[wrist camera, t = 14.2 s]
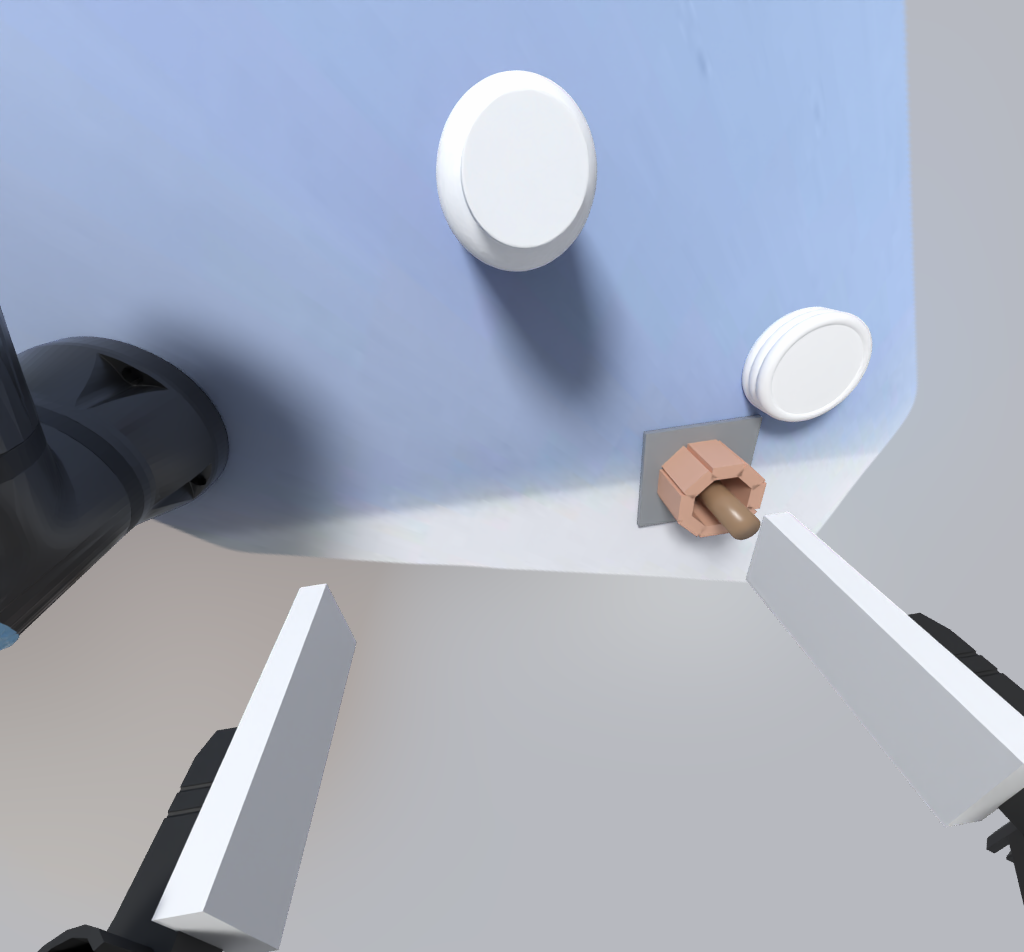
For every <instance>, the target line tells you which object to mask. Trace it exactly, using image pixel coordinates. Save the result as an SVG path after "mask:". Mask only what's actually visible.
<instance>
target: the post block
mask: <svg viewBox="0 0 1024 952" xmlns="http://www.w3.org/2000/svg"><path fill="white" fill-rule="evenodd" d="M761 421H762V417H761V416H760V415H754V416H747V417H740V418H734V419H727V420H720V421H713V422H706V423H700V424H693V425H686V426H679V427H673V428H666V429H659V430H652V431H646V432H644V435H643V449H642V462H641V476H640V489H639V503H638V517H637V525H638V526H639V527H642V526H649V525H655V524H661V523H668V522H674V521H677V520H676V519H675V518H674V516H673V515H672V514H671V512H670V511H669V509H668V508H667V507H666V505H665V504H664V503H663V501H662V500H661V498H660V497H659V496H658V493H657V489H658V480H659V470H661V469H663V467H662V465H663V464H664V463H665V462H667V461H668V460H669V459H670V458H671V457H672V456H673V455H674V454H675V453H676V452H677V451H678V450H679V449H680V448H682V447H683V446H685V447H686V448H687V444H688V443H695V442H701V441H708V440H715V439H716V440H717V441H719V440H720V441H721V442H722V443H723V444H725V445H726V446H727V447H728V448H729V449H731V450H732V451H733V452H734V453H735V454H737V455H738V456H739V457H740V458H741V459H743V460H744V461H745V462H746V463H747V464H749V465H750V466H751V462H752V458H753V454H754V450H755V446H756V442H757V437H758V433H759V429H760V425H761ZM697 496H698V497H699V499H700V500H701V501H702V502H703V503H704V504H705V505H706V507H707V508H708V509H709V510H710V511H711V512H712V513H713V515H714V516H715V517H716V518H717V519H718V520H719V522H720V523H721V524H722V525H723V526H724V527H725V528H726V530H727V531H728V532H729V533H730V534H731V535H732V536H733V537H734V538H735V539H738V540H743V539H747V538H749V537H751V536H753V535H754V534H755V533H756V532H757V531H758V530H759V528H760V521H759V519H758V518H757V517H756V516H755V515H754V514H753V513H752V512H750V511H749V510H748V509H747V508H746V507H745V506H744V505H743V504H742V503H741V502H740V501H739V500H738V499H737V498H736V497H735V496H734V495H733V494H732V493H731V492H730V491H729V490H728V489H727V488H726V487H725V486H724V485H723V484H722V483H721V482H720V480H714V481H713V482H712V483H711V484H710V485H709V486H707V487H706V488H705V489H704V490H703V491H702V492H701V493H699V494H698V495H697Z"/></svg>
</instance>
